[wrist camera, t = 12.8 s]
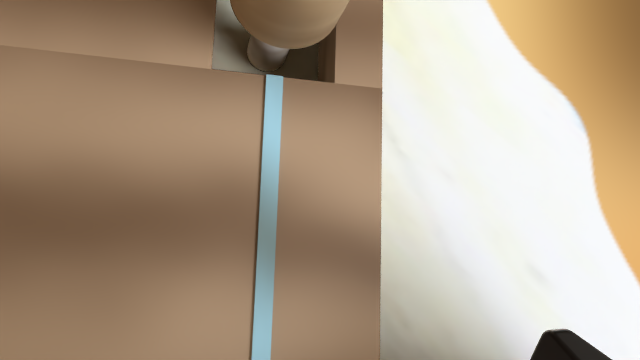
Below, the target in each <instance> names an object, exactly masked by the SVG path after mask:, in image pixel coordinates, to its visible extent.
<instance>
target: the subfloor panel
mask: <svg viewBox="0 0 640 360" xmlns="http://www.w3.org/2000/svg"><path fill="white" fill-rule="evenodd" d="M215 13H216V0H0V360H380V264H381V155H382V46H383V0H350V1H349V2H348V4H347V6H346V8H345V9H344V11H343V13H342V15H341V17H340V18H339V20H338V22H337V24H336V25H335V27H334V29H333V30H332V31H331V32H330V34H328V35H327V36H326V37H325V38H324V39H323V40H321V41H320V42H319V50H318V80H317V81H312V80H303V79H294V78H285V77H283V76H277V75H268V74H266V75H259V74H250V73H241V72H232V71H224V70H215V69H212V55H213V41H214V27H215Z"/></svg>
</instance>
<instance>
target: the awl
mask: <svg viewBox="0 0 640 360" xmlns="http://www.w3.org/2000/svg"><path fill="white" fill-rule="evenodd" d="M349 1H350V0H230V3H231V6H232V9H233V11H234V14H235V16H236V17H237V19H238V21H239V22H240V23H241V25H242V26H243V27H244V28H245V29H246V30H247V31H248V32H249V33H250V34H251V36H250V40H249V44H248V47H247V56H248V59H249V61H250V63H251V64H252V65H253V66H254V67H255V68H257V69H259V70H261V71H267V72H269V71H274V70H276V69H278V68H280V67H281V66H282V64H283V63H284V61H285V59H286V56H287V54H288V52H289V49H300V48H305V47H308V46H311V45H314V44H316V43H318V42H320V41H321V40H323V39H324V38H325V37H326V36H327V35H328V34H330V32H331V31H332V30H333V29H334V27H335V25H336V24H337V22H338V20H339V18H340V17H341V15H342V13H343V11H344V9H345V8H346V6H347V4H348V2H349Z"/></svg>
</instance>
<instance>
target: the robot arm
mask: <svg viewBox="0 0 640 360" xmlns="http://www.w3.org/2000/svg"><path fill="white" fill-rule="evenodd" d="M530 360H612V359H610V358H609V357H607V356H606V355H605V354H603V353H602V352H600V351H599V350H598V349H596V348H595V347H593V346H592V345H590V344H589V343H588V342H586V341H585V340H583V339H582V338H581V337H579V336H578V335H576V334H575V333H573V332H572V331H570V330H567V329H555V330H547V331H545V332H544V333H543V334H542V336H541V338H540V340H539V342H538V344H537V346H536V348H535V350H534V353H533V355H532V357H531V359H530Z"/></svg>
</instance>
